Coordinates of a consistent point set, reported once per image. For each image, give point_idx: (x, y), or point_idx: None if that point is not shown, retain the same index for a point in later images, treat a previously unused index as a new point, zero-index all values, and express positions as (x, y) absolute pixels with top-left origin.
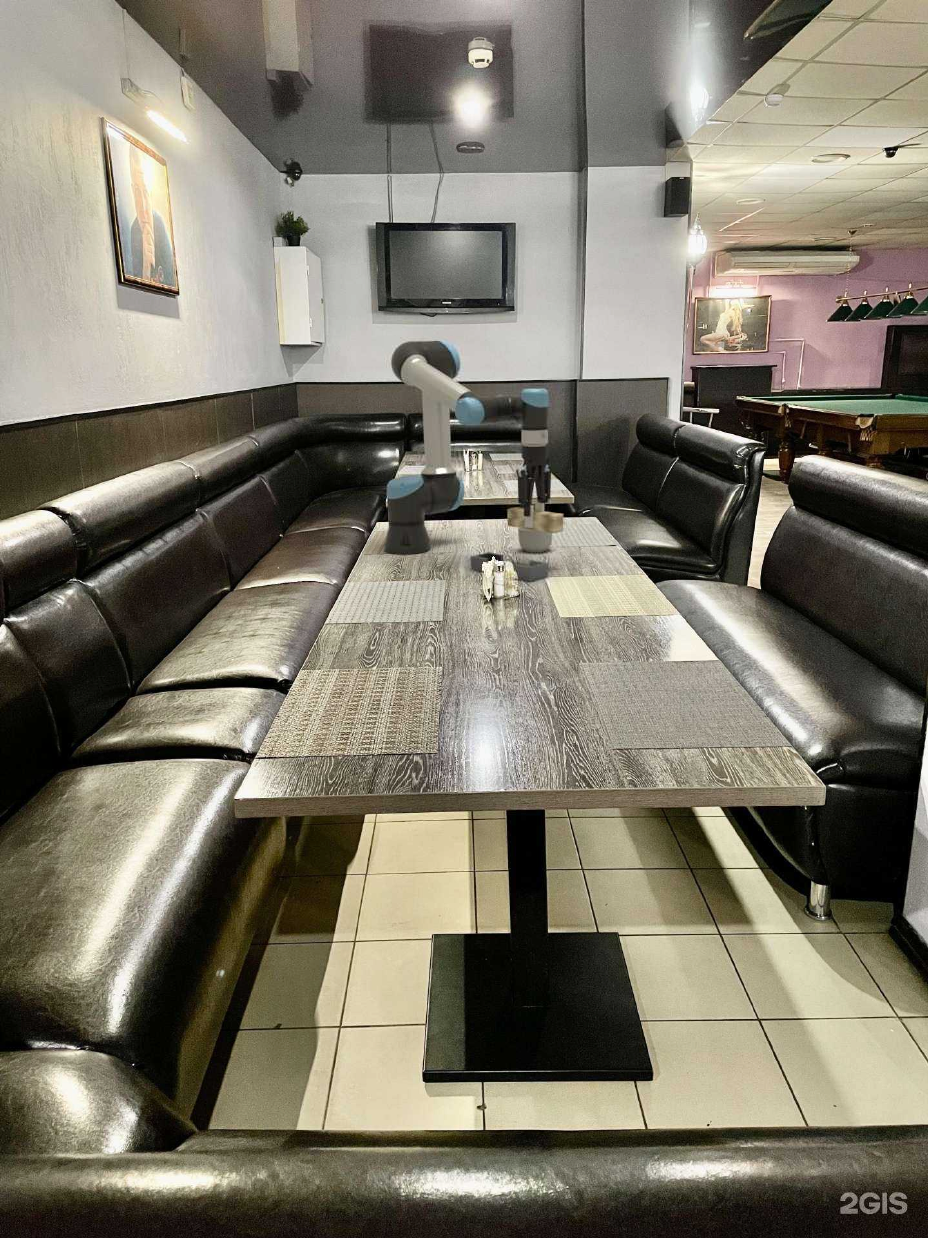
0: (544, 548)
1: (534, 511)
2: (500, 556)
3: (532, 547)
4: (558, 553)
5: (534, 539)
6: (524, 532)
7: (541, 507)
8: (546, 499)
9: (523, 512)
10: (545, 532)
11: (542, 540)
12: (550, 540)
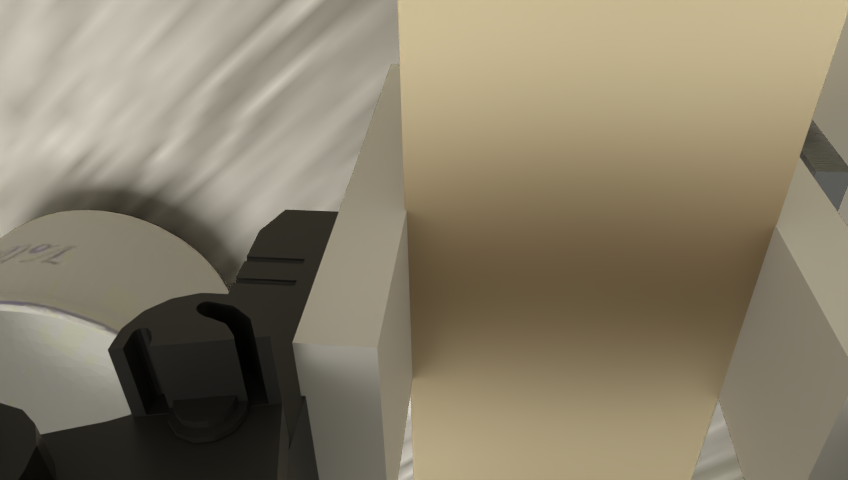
0: (116, 213)
1: (575, 307)
2: (845, 172)
3: (207, 268)
4: (49, 100)
5: (175, 297)
6: None
7: (396, 291)
8: (75, 448)
9: (696, 435)
10: (45, 287)
11: (114, 252)
12: (22, 233)
